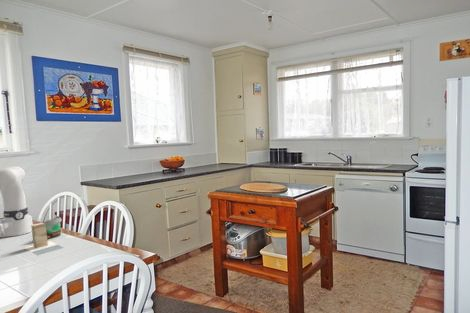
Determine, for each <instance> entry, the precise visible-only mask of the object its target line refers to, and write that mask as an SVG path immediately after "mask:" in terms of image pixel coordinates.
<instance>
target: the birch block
mask: <svg viewBox="0 0 470 313" xmlns="http://www.w3.org/2000/svg"><path fill="white" fill-rule="evenodd" d="M31 228H32V231H31V233H32V234H31V235H32V243H33V245H34V247H36V248H40V247H44V246H47V245H48V239H47V232H46V224H44V223H41V222H39V223H33V225H31Z"/></svg>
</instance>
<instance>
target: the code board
mask: <svg viewBox="0 0 470 313" xmlns="http://www.w3.org/2000/svg"><path fill="white" fill-rule="evenodd" d="M47 241H48V240H47ZM24 249H26V250H27V251H29V252H31V253H33V254H34V255H36V256H40V255H44V254H47V253H50V252H54V251H59V250H61V249H65V247H64V246H62V245H59V244H57V243H55V242H54V241H51V240H49V241H48V245H47V246H44V247H40V248H36V247H34V245H30V246H26V247H24Z"/></svg>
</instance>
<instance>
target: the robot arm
mask: <svg viewBox="0 0 470 313" xmlns="http://www.w3.org/2000/svg"><path fill="white" fill-rule="evenodd" d="M25 179H26V171H25V169H24V168H22V167H21V166H18V165H11V166H8V167H5V168H2V169H0V193H1V197H2V204H3V219H0V238H5V237H7V238H8V237H17V236H22V235H25V234H28V233H32V228H31V225H34V222H33V219H32V218H33V217H32V215H30V214H29V209H28V206H27V199H26V198H27V197H26V193H25V192H24V188H23V184H22V182H23V181H24V180H25Z"/></svg>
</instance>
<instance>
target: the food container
mask: <svg viewBox="0 0 470 313" xmlns="http://www.w3.org/2000/svg"><path fill="white" fill-rule="evenodd" d="M62 221H63V220H62V218H61V216H59V215H56V216H55V218H51V219H48V220H46V221H41V222H40V223H44V224H46V232H47V240H49V239H55V238H58V237H60V236H61V230H62V228H61V222H62Z"/></svg>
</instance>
